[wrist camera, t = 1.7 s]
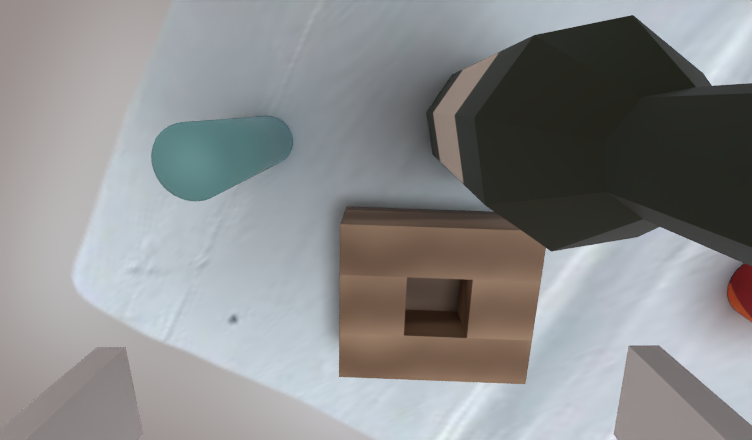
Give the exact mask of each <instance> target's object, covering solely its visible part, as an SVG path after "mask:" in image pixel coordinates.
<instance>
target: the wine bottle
mask: <svg viewBox="0 0 752 440" xmlns="http://www.w3.org/2000/svg"><path fill="white" fill-rule="evenodd" d="M427 118H428V125H429V131H430V138H431V145H432V151H433V155H434V156H435V157H436V158H437V159H438V160H439V161H440V162H441V163H442V164H443V165H444V166H445V167H446V168H447V169H448V170H449V171H451V172H452V173H453V174H454V175H455V176H456V177H457V178H458V179H459V180H460V181H461V182H462V183H463V184H464V185H465V186H466V187H467V188H468V189H469V190H470V191H471V192H472V193H473V194H474V195H475V196H476V197H477V198H478V199H479V200H480V201H481V202H482V203H483V204H484V205H486V206H487V207H489V208H490V209H491V210H493V211H494V212H496V213H497V214H499V215H500V216H501V217H503V218H504V219H506V220H507V221H509V222H510V223H511V224H513V225H514V226H516V227H517V228H519V229H520V230H521V231H523V232H524V233H526V234H527V235H529V236H530V237H531V238H533V239H534V240H536V241H537V242H539V243H540V244H541V245H543V246H544V247H546V248H547V249H549V250H550V251H556V250H562V249H568V248H574V247H580V246H586V245H592V244H598V243H604V242H610V241H616V240H622V239H628V238H634V237H638V236H641V235H643V234H645V233H647V232H649V231H651V230H654V229H656V228H658V227H662V228H664V229H667V230H669V231H671V232H674V233H676V234H678V235H681V236H683V237H685V238H688V239H690V240H692V241H694V242H697V243H699V244H701V245H704V246H706V247H708V248H711V249H713V250H715V251H718V252H720V253H722V254H724V255H727V256H729V257H731V258H734V259H736V260H738V261H741V262H743V263H745V264H748V265H750V266H752V83H751V84H735V85H720V86H712V85H711V84H710V83H709V81H708V80H707V78H706V77H705V75H704V74H703V73H702V72H701V71H700V70H698V69H697V68H696V67H695V66H694V65H692V64H691V63H690V62H689V61H687V60H686V59H685V58H684V57H683V56H681V55H680V54H679V53H678V52H677V51H675V50H674V49H673V48H672V47H671V46H669V45H668V44H667V43H666V42H665V41H663V40H662V39H661V38H660V37H659V36H657V35H656V34H655V33H654V32H653V31H651V30H650V29H649V28H648V27H647V26H645V25H644V24H643V23H642V22H641V21H639V20H638V19H637V18H636V17H635V16H633V15H632V16H627V17H622V18H617V19H612V20H607V21H602V22H597V23H592V24H587V25H582V26H577V27H573V28H568V29H563V30H558V31H553V32H548V33H543V34H538V35H534V36H532V37H530V38H527V39H525V40H523V41H521V42H519V43H517V44H515V45H513V46H511V47H509V48H507V49H505V50H503V51H500V52H498V53H496V54H494V55H492V56H490V57H488V58H486V59H484V60H482V61H480V62H478V63H475V64H473V65H471V66H469V67H467V68H465V69H463V70H461V71H459V72H457V73H455V74H453V75H452V76H451V78H450V79H449V80H448V82H447V83H446V85H445V86H444V88H443V89H442V91H441V92H440V93H439V95H438V96H437V98H436V99H435V101H434V102H433V103H432V105H431V106H430V108H429V109H428V111H427Z"/></svg>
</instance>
